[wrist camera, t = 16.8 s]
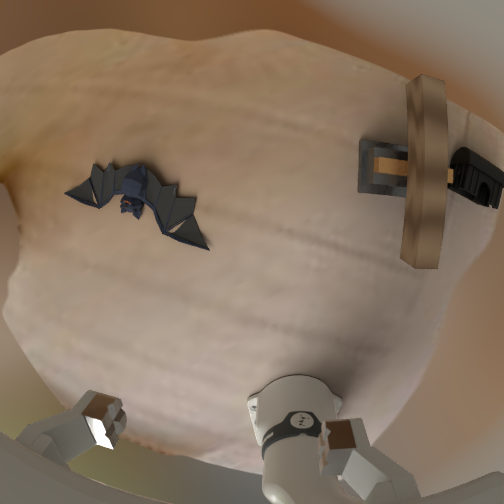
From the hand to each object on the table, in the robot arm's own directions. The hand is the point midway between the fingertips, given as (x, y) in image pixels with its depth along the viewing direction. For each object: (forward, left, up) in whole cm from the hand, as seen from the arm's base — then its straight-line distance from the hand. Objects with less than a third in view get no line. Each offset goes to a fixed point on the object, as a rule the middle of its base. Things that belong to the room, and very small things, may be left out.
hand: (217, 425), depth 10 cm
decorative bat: (+7, +20, -38) cm, 44 cm away
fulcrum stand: (+12, -21, -37) cm, 44 cm away
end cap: (+13, -36, -37) cm, 53 cm away
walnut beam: (+12, -21, -29) cm, 38 cm away
